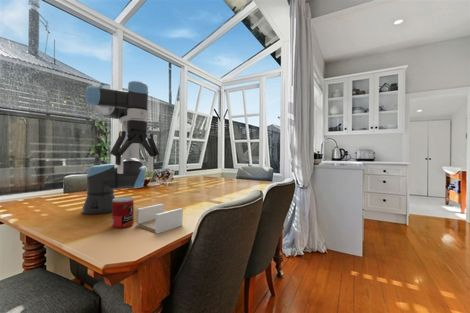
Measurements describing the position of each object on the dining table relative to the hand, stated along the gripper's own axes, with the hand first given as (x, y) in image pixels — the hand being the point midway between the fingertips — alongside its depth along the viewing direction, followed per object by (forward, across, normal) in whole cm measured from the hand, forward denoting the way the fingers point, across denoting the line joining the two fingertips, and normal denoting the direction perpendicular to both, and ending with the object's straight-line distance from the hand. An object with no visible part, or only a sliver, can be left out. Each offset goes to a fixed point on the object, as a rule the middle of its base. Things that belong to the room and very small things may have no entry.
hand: (136, 172), depth 91 cm
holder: (+22, +5, -9) cm, 24 cm away
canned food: (+22, -3, +3) cm, 22 cm away
